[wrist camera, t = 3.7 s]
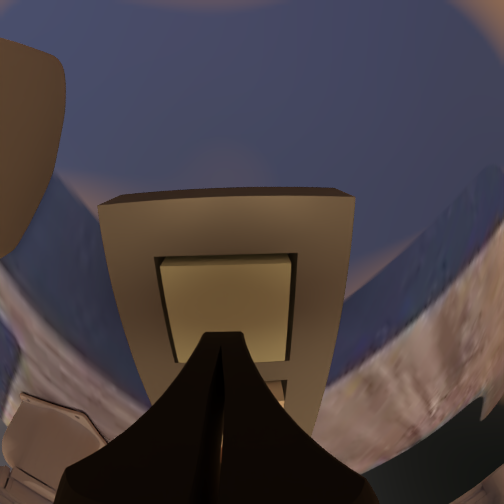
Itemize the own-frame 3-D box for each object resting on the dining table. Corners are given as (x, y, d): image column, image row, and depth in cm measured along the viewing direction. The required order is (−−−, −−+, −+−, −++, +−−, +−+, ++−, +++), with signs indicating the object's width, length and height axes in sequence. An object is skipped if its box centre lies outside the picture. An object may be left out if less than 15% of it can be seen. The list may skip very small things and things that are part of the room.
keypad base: (190, 456, 20) (188, 476, 18) (121, 194, 12) (97, 205, 9) (294, 453, 21) (297, 474, 18) (334, 187, 12) (355, 197, 10)
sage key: (184, 337, 14) (178, 362, 12) (171, 248, 12) (160, 266, 10) (279, 335, 14) (284, 360, 12) (283, 245, 12) (291, 262, 10)
